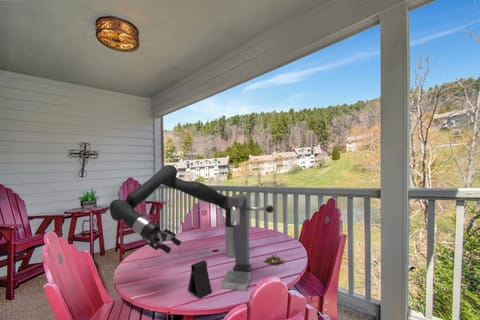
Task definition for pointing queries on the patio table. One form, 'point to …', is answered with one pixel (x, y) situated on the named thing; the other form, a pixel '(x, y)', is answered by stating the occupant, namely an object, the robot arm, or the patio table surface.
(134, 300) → the patio table surface
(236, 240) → the arbor press
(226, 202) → the robot arm
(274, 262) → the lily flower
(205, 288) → the phone stand
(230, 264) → the patio table surface
